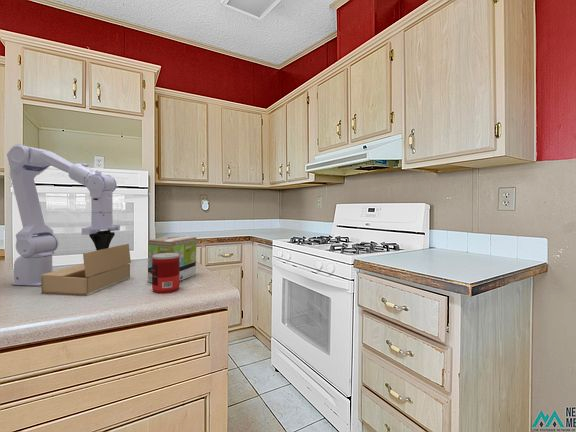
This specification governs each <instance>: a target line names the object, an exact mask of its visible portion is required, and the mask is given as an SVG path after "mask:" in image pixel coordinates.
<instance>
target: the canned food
mask: <svg viewBox="0 0 576 432" xmlns="http://www.w3.org/2000/svg"><path fill="white" fill-rule="evenodd" d="M179 278H180V256H179V254H178V253H160V254H155V255H153V256H152V283H151V288H152V292H153V293H155V294H170V293H174V292H176V291H178V290H179V287H180V281H179Z"/></svg>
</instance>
